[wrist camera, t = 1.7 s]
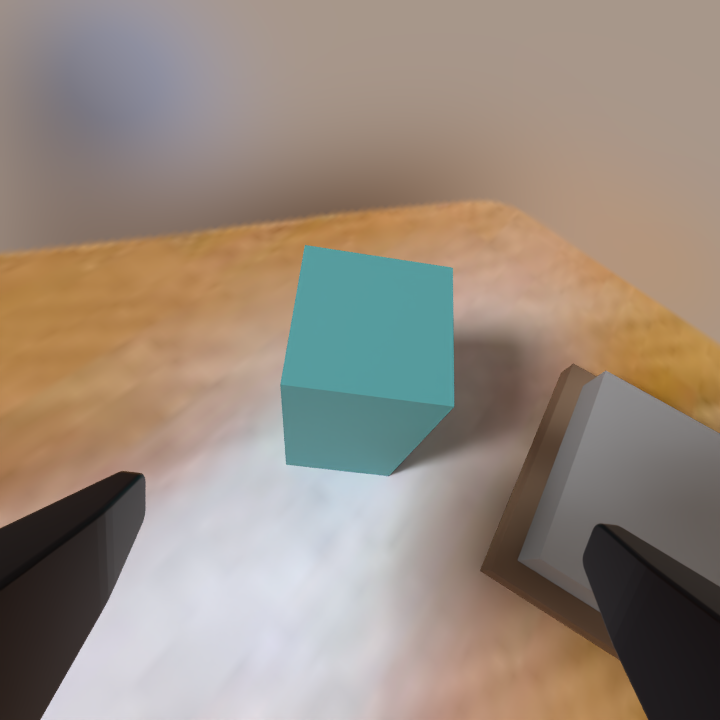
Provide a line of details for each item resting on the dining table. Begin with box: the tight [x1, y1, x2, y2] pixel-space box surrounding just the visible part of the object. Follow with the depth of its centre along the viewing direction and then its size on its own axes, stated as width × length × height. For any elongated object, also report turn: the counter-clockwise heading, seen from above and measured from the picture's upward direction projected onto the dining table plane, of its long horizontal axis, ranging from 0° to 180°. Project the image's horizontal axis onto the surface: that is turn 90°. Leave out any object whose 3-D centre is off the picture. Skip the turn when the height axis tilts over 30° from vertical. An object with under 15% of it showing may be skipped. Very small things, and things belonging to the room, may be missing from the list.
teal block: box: [280, 245, 454, 476], centre depth 18 cm, size 5×5×10 cm
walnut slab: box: [480, 364, 620, 660], centre depth 22 cm, size 12×12×2 cm
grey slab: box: [518, 371, 720, 612], centre depth 20 cm, size 10×10×2 cm
